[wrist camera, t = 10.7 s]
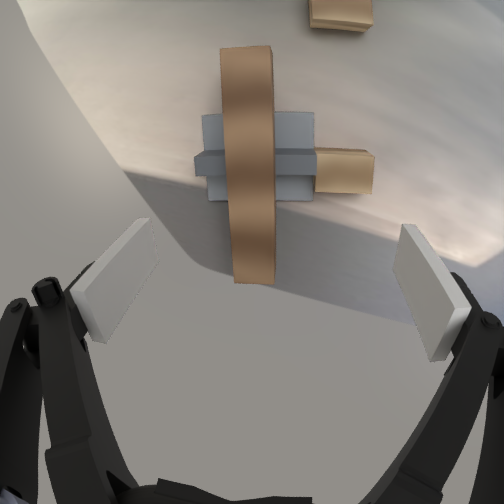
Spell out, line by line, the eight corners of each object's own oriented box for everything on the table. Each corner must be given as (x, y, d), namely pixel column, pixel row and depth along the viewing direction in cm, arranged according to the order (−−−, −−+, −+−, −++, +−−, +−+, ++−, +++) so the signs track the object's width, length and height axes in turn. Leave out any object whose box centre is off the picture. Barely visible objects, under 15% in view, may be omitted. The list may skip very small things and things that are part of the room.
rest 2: (313, 147, 32) (316, 153, 28) (365, 150, 31) (374, 156, 28) (312, 181, 34) (315, 191, 30) (363, 183, 33) (371, 194, 30)
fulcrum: (204, 115, 31) (190, 118, 27) (312, 112, 30) (317, 114, 26) (210, 197, 36) (199, 212, 32) (312, 198, 35) (315, 213, 30)
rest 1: (308, -3, 23) (310, -15, 20) (361, 2, 23) (370, -9, 19) (310, 27, 25) (312, 18, 22) (364, 32, 25) (373, 24, 21)
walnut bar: (228, 55, 24) (219, 48, 20) (272, 53, 23) (269, 45, 20) (240, 262, 34) (234, 283, 31) (276, 263, 34) (274, 284, 30)
